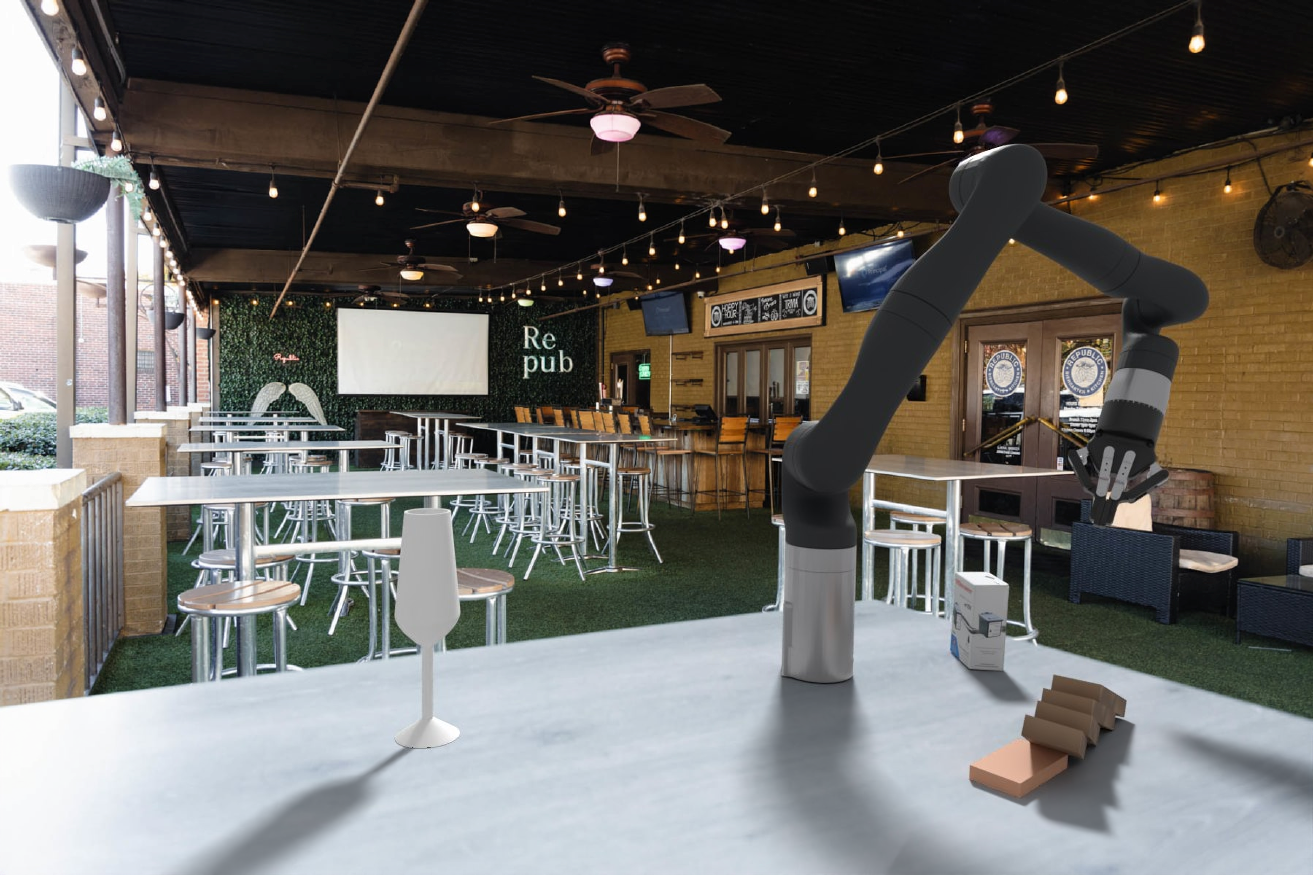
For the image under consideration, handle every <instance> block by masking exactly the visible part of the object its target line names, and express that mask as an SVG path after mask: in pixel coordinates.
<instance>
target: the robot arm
mask: <svg viewBox="0 0 1313 875" xmlns="http://www.w3.org/2000/svg"><path fill="white" fill-rule="evenodd" d="M1047 181H1048V168H1047V164H1046V160H1045V158H1044V156H1043V155H1042V153H1041V152H1040V151H1039V150H1038V149H1036V148H1035V147H1033V146H1031V145H1027V144H1024V143H1023V144H1022V143H1014V144H1007V145H1002V146H999V147H996V148H992V149H990V150H989V149H988V150H986V151H982V152H980V153H977V154H975V155H973V156H970V157H969V158H967V159H965V160H964V161H962V162H961V163H959V165H958V166H956V168H955V169H954V171H953V172H952V175H951V177H950V180H949V186H948V194H949V199H950V202H951V204H952V206H953V207H954V209H955V211H956V212H957V213H958V214H959V215H958V217H957V218H956V219H955V221H954V222H953V224H952V225H951V226H950V228H948V230H947V231H946V232H945V234H944V235H943V236H942V237H940V238H939V239H938V241H936V242H935V243H934V244H933V245H932V246H931V247H930V248H929V249H928V250H927V251H926V252H924V253H923V254H922V255H921V256H920V257H919V258H918V259H917V260H915V261H914V263H913V264H912V265H910V266H909V268H908V269H907V270H906V271H905V272H903V274H902V275H901V276H900V277H899V278H898V279H897V281H896V282H895V283H894V284H893V285H892V287H891V288H890V289H889V291H888V293H887V295H886V296H885V298H884V299H883V301H882V303H881V304H880V306H879V307H878V309H877V311H875V313H874V315H873V317H872V318H871V320H870V322H869V324H868V326H867V328H866V331H865V333H864V335H863V338H862V341H861V344H860V346H859V351H858V353H857V356H856V360H855V364H854V366H853V370H852V372H851V374H850V377H849V378H848V380H847V382H846V384H845V385H844V387H843V389H842V391H840V392H839V395H838V396H837V398H836V399H835V400H834V402H833V403H832V404H831V406H830V407H829V409H828V410H827V411H826V412H825V414H823V416H822V417H821V418H820V419H819V420H810V421H809V420H808V421H806V422H804V423H801V424H799V425H798V426H796V427H794V429H792V431H791V432H790V433H789V435H788V436H787V438H786V440H785V442H784V445H783V449H782V457H781V458H782V459H781V515H782V520H783V525H784V532H785V533H784V534H785V536H784V537H785V538H784V539H785V540H784V541H785V543H784V544H785V545H784V546H785V548H784V578H783V579H784V581H783V582H784V583H783V584H784V586H783V605H782V633H781V634H782V635H781V636H782V638H781V639H782V640H781V641H782V643H781V676H783V677H788V678H789V677H790V678H793V679H797V680H801V681H805V682H810V683H811V682H812V683H827V684H828V683H838V682H839V683H840V682H843V681H847V680H849V679H851V678H852V677H853V675H854V661H855V657H854V646H855V619H856V618H855V615H856V614H855V612H856V611H855V608H856V580H857V579H856V576H857V544H858V543H857V542H858V540H857V538H858V530H857V529H858V528H857V524H856V522H855V519H854V517H853V515H852V512H851V506H850V489H851V488H852V487H854V486H855V485H856V484H857V483H858V482H859V481H860V479H861V478H862V477H863V476H864V474H865V472H866V470H867V468H868V466H869V465H870V463H871V461H872V458H873V456H874V454H875V452H876V450H877V448H878V447H879V444H880V442H881V440H882V438H883V436H884V434H885V432H886V431H887V428H888V426H889V424H890V422H891V420H892V419H893V417H894V415H895V414H896V412H897V410H898V408H899V407H900V406H901V405H902V403H903V401H904V400H905V398H906V397H907V395H909V393H910V391H911V390H912V389H913V387H914V386H915V384H916V383H917V381H918V379H919V378H920V377H921V375H922V373H923V372H924V370H925V369H926V367H927V365H928V364H929V363H930V361H931V360H932V358H933V357H934V356H935V355H936V353H937V352H938V350H939V349H940V347H941V345H942V344H943V342H944V341H945V340H946V338H947V336H948V335H949V333H950V332H951V329H952V328H953V326H954V325H955V323H956V321H957V319H958V318H959V316H960V315H961V314H962V311H963V310H964V308H965V306H966V305H967V303H968V302H969V300H970V299H971V297H972V296H973V294H974V293H975V292H976V290H977V288H978V287H979V286H980V284H981V282H982V281H983V279H984V277H985V275H986V274H987V272H988V271H989V269H990V268H991V266H992V265H993V263H994V261H995V260H996V258H998V256H999V254H1001V252H1002V251H1003V249H1004V248H1005V247H1006V246H1007V244H1008V243H1009V242H1010V241H1011V240H1013V241H1015V242H1017V243H1020V244H1022V245H1024V246H1025V247H1027V248H1029V249H1031V250H1033V251H1035V252H1037V253H1039V254H1041V255H1043V256H1044V257H1046V258H1047V259H1050V260H1051V261H1053V262H1055V263H1057V264H1058V265H1060V266H1061V267H1063V268H1064V269H1066V270H1068V271H1069V272H1070V273H1073V274H1074V275H1075V276H1077V277H1079V278H1080V279H1081V280H1082V281H1084V282H1086V283H1087V284H1089V285H1091V286H1092V287H1094V289H1097V290H1098V291H1100V292H1101V293H1102V294H1103V295H1105V296H1108V297H1110V298H1113V299H1123V301H1122V307H1121V344H1122V345H1121V346H1122V348H1121V351H1120V355H1119V357H1118V361H1117V365H1116V368H1115V372H1114V374H1113V377H1112V380H1110V383H1109V385H1108V387H1107V390H1106V393H1105V394H1106V395H1105V398H1104V400H1103V403H1102V408H1101V410H1100V414H1099V418H1098V421H1097V424H1096V428H1095V431H1094V434H1093V436H1092V437H1091V438H1090V439H1089V440H1088V441H1087V444H1086V446H1084V447H1082V448H1079V449H1077V450H1076V449H1073V448H1072V449H1070V450H1068V452H1067V457H1068V458H1067V459H1068V463H1070V466H1071V468H1072V470H1073V471H1074V474H1075V476H1076V477H1077V479H1078V481H1079V484H1080V486H1081V487H1082V489H1083V491H1084V493H1086V494H1089V495H1091V496H1092V497H1093V503H1092V507H1091V509H1090V513H1089V521H1090V522H1092V525H1093V526H1092V527H1095V528H1098V529H1101V530H1102V529H1103V530H1106V526H1108V527H1111V526H1112V525H1113V523H1114V520H1115V516H1116V513H1117V511H1118V507H1119V505H1121V504H1127V503H1128V504H1134V503H1137V501H1139V500H1141V499H1142V498H1144V497H1146V496H1147V495H1149V494H1151V493H1152V492H1153V491H1155V490H1156V489H1158V488H1160V487H1162V486H1163V485H1164V484H1166V483H1167V482H1168V481H1169V477H1170V472H1169V471H1168V470H1167V469H1163V468H1162V467H1161V466H1160V465H1159V464H1158V462H1157V454H1156V447H1157V442H1158V440H1159V439H1158V438H1159V436H1160V432H1161V428H1162V426H1163V422H1164V418H1165V416H1166V414H1167V409H1168V408H1167V407H1168V404H1169V400H1170V393H1171V386H1172V382H1173V378H1174V375H1175V371H1176V368H1177V364H1178V362H1179V357H1180V348H1179V345H1178V344H1177V342H1176V341H1175V340H1173V339H1172V338H1170V337H1168V336H1165V335H1161V331H1162V329H1164V328H1168V327H1172V326H1173V327H1174V326H1178V325H1183V324H1188V323H1190V322H1193V321H1195V320H1198V319H1200V318H1201V317H1202V316H1203V314H1205V312H1206V311H1207V309H1208V308H1209V303H1210V293H1209V290H1208V288H1207V285H1206V284H1205V282H1204V281H1203V279H1202V278H1201V277H1199V276H1198V275H1197V274H1196V273H1195V272H1194V271H1192V270H1190V269H1188V268H1186V267H1184V266H1182V265H1179V264H1176V263H1174V262H1170V261H1168V260H1165V259H1162V258H1159V257H1157V256H1154V255H1149V254H1146V253H1144V252H1143V251H1141V250H1140V249H1138V248H1137V247H1136V246H1134V245H1133V244H1131V243H1130V242H1128V241H1127V240H1126V239H1124V238H1123V237H1121V236H1120V235H1118V234H1117V233H1115V232H1114V231H1112V230H1109V229H1108V228H1106V227H1104V226H1102V225H1099V224H1097V223H1095V222H1091V221H1089V220H1086V219H1084V218H1081V217H1078V216H1075V215H1073V214H1069V213H1067V212H1064V211H1062V210H1059V209H1057V208H1054V207H1052V206H1050V205H1049V204H1046V203H1044V202H1043V201H1041V199H1042V197H1043V195H1044V192H1045V190H1046V187H1047ZM1088 456H1089V458H1090V461H1091V462H1092V466H1094V469H1095V471H1096V472H1097V473H1098V474H1099V475H1098V482H1097V484H1096V483H1094V482H1093V481H1092V478H1091V476H1090V475H1089V473H1088V471H1087V469H1086V467H1085V465H1087V463H1088V459H1087V458H1088ZM1148 470H1149V471H1148ZM1146 471H1148V472H1147V474H1146V479H1144V480H1143V481H1141V482H1140V483H1138V484H1136V485H1135V486H1134V487H1132V488H1130V489H1128V490H1126V487H1127V484H1128V482H1129V481H1132V480H1135V479H1136V478H1138V477H1139V476H1140V475H1142V474H1143V473H1145V472H1146ZM1111 478H1114V479H1115V480H1114V483H1113V486H1112V488H1111V491H1110V494H1109V495H1108V492H1109V486H1110V483H1111ZM1107 496H1109V497H1108V498H1107Z"/></svg>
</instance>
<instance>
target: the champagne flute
mask: <svg viewBox="0 0 1313 875" xmlns="http://www.w3.org/2000/svg"><path fill="white" fill-rule="evenodd" d="M452 518H453V517H452V511H451V509H447V508H441V507H440V508H438V507H437V508H436V507H429V508H428V507H426V508H425V507H424V508H423V507H422V508H412V509H407V510H404V512H403V522H402V532H401V543H400V553H399V563H398V564H399V565H398V573H397V583H396V584H397V585H396V596H395V607H394V620H395V623H396V625H397V626H398V627H399V629H400V630H401V631H402V633H404V634H405V635H406V637H408V638H409V639H410V640H412V641H413V642H414V643H415V644H417V645H419V646H421V717H420V718H419V719H418V720H415V721H414V722H413V723H412V724H410V725H408V726H407V727H405V728H403V729H402V730H400V731H399V732H398V733H396V735H395V737H394V739H395V742H396V743H397V744H399V745H400V746H403V747H406V748H410V749H411V748H412V747H413V748H412V749H428V748H427V747H431V748H437V747H442V746H444V745H447V744H449V743H451V742H454V741H455V740H457V739H458V738H459V736H460V733H461V732H460V729H459V728H458V727H456V726H454V725H452V724H450V723H448V722H446V721H444V720H441V719H439V718H437V717H435V716H434V646H435V645H437V644H438V643H440V642H441V641H442V640H443V639H444V638H445V637H446V636H447V635H448V634H449V633H450V632H451V631H452V630H453V629H454V627H455V625H456V624H457V622H458V620H459V619H460V617H461V605H460V596H459V594H460V593H459V585H458V573H457V563H456V553H455V552H456V551H455V543H454V533H453V532H454V531H453V529H454V528H453V521H452Z"/></svg>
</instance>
